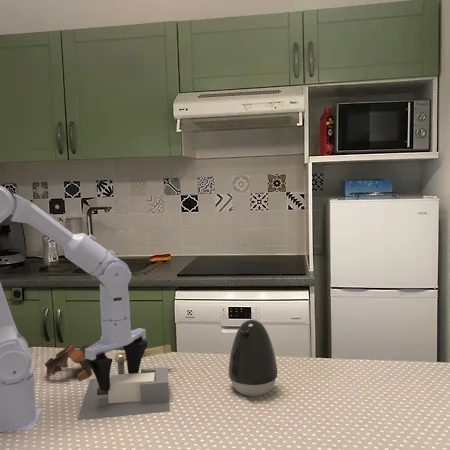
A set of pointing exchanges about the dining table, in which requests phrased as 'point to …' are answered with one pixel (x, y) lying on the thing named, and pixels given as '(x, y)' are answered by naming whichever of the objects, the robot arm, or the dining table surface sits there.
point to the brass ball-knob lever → (145, 353)
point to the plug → (126, 387)
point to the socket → (150, 402)
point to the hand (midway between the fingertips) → (119, 382)
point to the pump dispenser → (252, 360)
